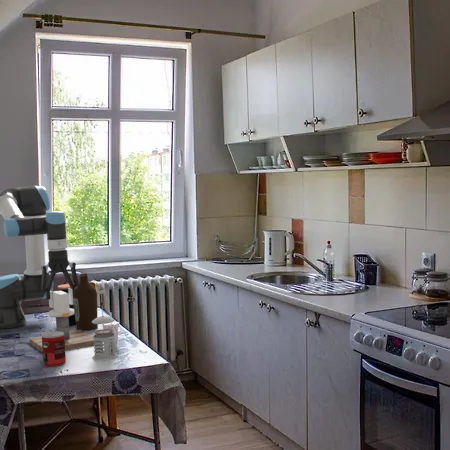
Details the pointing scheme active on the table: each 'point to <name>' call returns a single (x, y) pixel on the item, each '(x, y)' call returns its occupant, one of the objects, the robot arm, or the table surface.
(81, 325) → the olive oil
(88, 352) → the table surface
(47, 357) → the canned food
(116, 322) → the smoothie
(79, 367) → the table surface
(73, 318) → the coffee jar
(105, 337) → the french press
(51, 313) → the cap
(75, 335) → the post board
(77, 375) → the table surface
